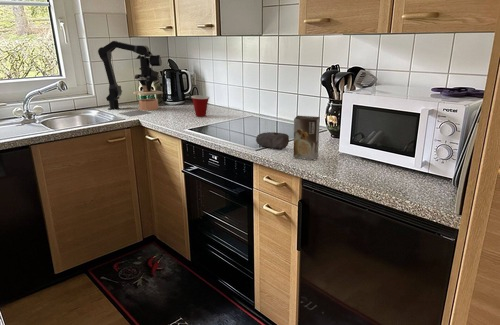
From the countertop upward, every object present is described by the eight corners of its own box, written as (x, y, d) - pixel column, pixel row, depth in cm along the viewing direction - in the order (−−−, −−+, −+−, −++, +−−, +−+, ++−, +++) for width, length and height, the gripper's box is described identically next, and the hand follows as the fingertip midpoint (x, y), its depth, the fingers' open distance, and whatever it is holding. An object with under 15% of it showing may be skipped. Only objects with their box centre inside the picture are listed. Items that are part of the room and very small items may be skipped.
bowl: (136, 109, 249) (135, 100, 247) (152, 107, 257) (151, 98, 255) (146, 111, 241) (145, 102, 239) (162, 109, 249) (161, 100, 247)
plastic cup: (209, 117, 222) (208, 97, 219) (190, 118, 223) (189, 97, 219) (211, 114, 233) (210, 94, 229) (193, 114, 233) (192, 94, 229)
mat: (118, 114, 234) (118, 113, 234) (139, 110, 244) (139, 110, 244) (130, 117, 224) (130, 116, 224) (152, 114, 235) (152, 113, 234)
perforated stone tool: (253, 146, 165) (253, 131, 162) (259, 143, 169) (259, 128, 167) (284, 151, 157) (284, 135, 155) (289, 148, 162) (290, 132, 160)
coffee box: (318, 156, 151) (320, 116, 146) (315, 160, 146) (317, 119, 140) (296, 153, 154) (297, 115, 149) (292, 158, 149) (293, 118, 144)
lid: (132, 93, 246) (131, 85, 244) (151, 91, 255) (150, 83, 253) (143, 95, 236) (143, 87, 235) (162, 93, 246) (162, 85, 244)
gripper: (164, 66, 239) (166, 91, 244) (148, 64, 252) (150, 88, 257) (148, 67, 232) (151, 92, 237) (133, 65, 244) (135, 90, 249)
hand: (147, 90), depth 245 cm, fingers closed on lid, 4 cm apart
